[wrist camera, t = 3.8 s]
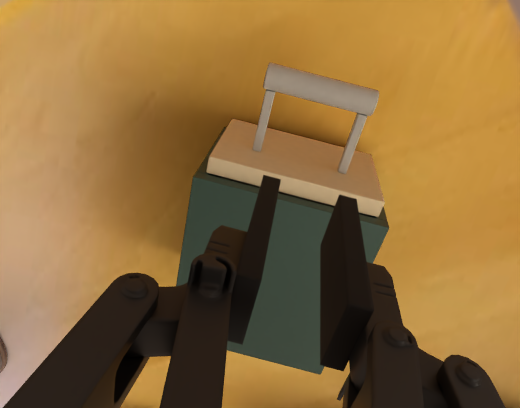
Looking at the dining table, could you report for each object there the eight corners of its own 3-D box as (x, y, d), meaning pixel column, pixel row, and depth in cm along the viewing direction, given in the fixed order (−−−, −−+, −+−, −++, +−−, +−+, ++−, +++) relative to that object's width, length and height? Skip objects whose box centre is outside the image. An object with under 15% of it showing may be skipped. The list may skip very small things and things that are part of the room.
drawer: (246, 41, 29) (224, 62, 23) (400, 81, 29) (424, 114, 23) (206, 250, 39) (182, 308, 32) (321, 281, 39) (321, 345, 32)
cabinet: (224, 126, 34) (192, 176, 25) (372, 165, 34) (389, 228, 25) (199, 261, 41) (168, 335, 33) (320, 293, 41) (320, 374, 33)
